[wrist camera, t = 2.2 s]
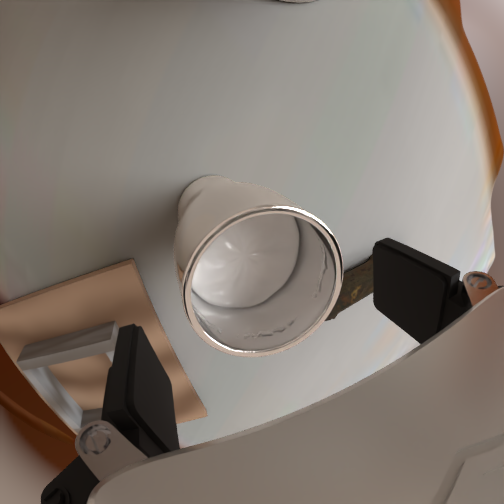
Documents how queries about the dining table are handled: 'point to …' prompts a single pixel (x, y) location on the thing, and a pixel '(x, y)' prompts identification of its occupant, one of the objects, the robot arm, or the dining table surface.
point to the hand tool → (354, 287)
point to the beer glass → (253, 267)
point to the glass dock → (87, 342)
